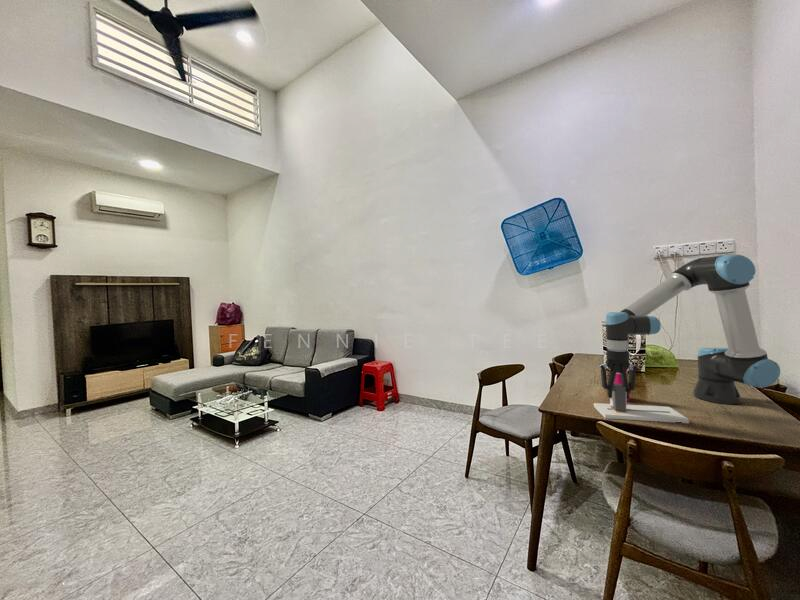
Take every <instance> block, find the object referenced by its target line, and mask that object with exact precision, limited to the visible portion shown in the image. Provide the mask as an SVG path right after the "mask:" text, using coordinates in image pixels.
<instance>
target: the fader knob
mask: <svg viewBox="0 0 800 600" xmlns="http://www.w3.org/2000/svg"><path fill="white" fill-rule="evenodd" d="M612 390H614V391H615V407H612V406H611V407H612V408H613V409H614V410H616V411H626V387H625V386H623V385H622V384H620V383H614V384H613V389H612Z"/></svg>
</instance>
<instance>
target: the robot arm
mask: <svg viewBox="0 0 800 600" xmlns="http://www.w3.org/2000/svg"><path fill="white" fill-rule="evenodd" d="M755 276H756V266H755V264H754V263H753V261H752V260H751V259H750V258H749V257H746V256H745V255H742V254H722V255H713V256H705V257H699V258H695V259H693V260H691V261H689V262H687V263H685V264H683V265H682V266H680V267H678V268H677V269H675V270H673V272H671V273H669V275H668V276H667V277H668V278H667V279H665V280H664V281H662V282H661V283H660V284H658V285H657V286H656V287H654V288H652V289H651V290H650V291H648V292H646V293H645V294H643V295H642V296H641V297H640V298H638V299H636V300H635V301H633V302H632V303H631V304H629V305H628V306H627V307H625V308H624V309H622V310H621V311H617V312H616V311H615V312H614V311H612V312H607V313H606V317H605V333H606V335H605V336H606V337H605V338H606V342H605V343H606V350H605V351H606V361H605V362H604V363H601V364H598V368H599V370H600V377H601V378H600V379H601V387H602V388H603V389H604V390H607V395H606V397H608V398H609V404H610V405H611V406H612V407H615V391H614V390H612V389H613V384H614V382H615V379H616V373H617V372H620V375H621V379H622V384H623V386H625V387H626V407H627V405H628V404H627V403H628V401H627V399H629V396H630V394H629V392H630V390H631V391H634V390H635V389H636V388H635V387H636V373H637V370H638V366H636V365H634V364H631V363H630V361H629V359H630V357H629V355H630V354H629V351H628V350H629V349H630V347H629V336H635V335H636V336H637V335H638V336H639V335H640V336H641V335H643V336H646V335H647V336H650V335H656V334H658V333H660V332H661V327H662V326H661V321H660V319H658V317H656V316H653V315H650V314H651V313H652V312H655V310H657V309H659V308H660V307H661V306H662V305H664V304H665V303H667V302H669V301H670V300H671V299H673V298H675V297H676V296H677V295H679V294H681V293H682V292H684V291H686V292H687V291H689V290H691V289H692V288H694V287H697V286H700V285H701V286H702V285H707V288H708V292H710V293H712V294H713V295H714V296H715V300H716V304H717V307H718V312H719V316H720V320H721V324H722V328H723V333H724V337H725V340H726V344H727V347H701V348H699V349H698V351H697V352H698V353H697V374H698V375H697V376H698V377H697V380H696V381H697V382H696V384H695V386H694V388H693V390H692V395H693V396H694V397H695V398H697V399H699V400H703V401H706V402H712V403H715V404H723V405H738V404H740V403H741V402H742V401H741V400H742V398H741V395H740V393H739V391H738V387H737V386H736V384H735V383H736V382H737V383H740V384H745V385H746V386H749V387H756V388H767V387H770V386H772V385H774V384H775V383H776V381H777V380H779V378H780V375H781V367H780V365H779V364H778V363H777V362H775V360H773V359H769V357H768V353H767V351H766V350H765V349H763V348H761V347H760V344H759V340H758V338H757V333H756V328H755V325H754V321H753V316H752V313H751V308H750V304H749V300H748V297H747V293H746V290H747V289H748V288H749V287H750V286H751V284H750V282H751V281H753V279H754V277H755ZM649 315H650V316H649ZM628 367H629V369H628V370H629V372H628V376H627V377H628V378H627V377H626V370H627V368H628ZM607 368H608V369H609V375H608V376H607ZM628 370H627V371H628ZM607 377H608V378H607ZM628 384H629V385H628Z"/></svg>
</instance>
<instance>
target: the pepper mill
mask: <svg viewBox="0 0 800 600" xmlns="http://www.w3.org/2000/svg"><path fill="white" fill-rule="evenodd" d="M628 370H630V369H629V367H628V368H627V370H626V377H628V375H629V372H628ZM614 383H620V384H622V379H621V375H620V372H617V373H616V375H615V379H614ZM622 385H623V384H622ZM628 385H629V383H628ZM631 394H632V390H630V392H629V399H627V402H630V401H631V396H630V395H631Z"/></svg>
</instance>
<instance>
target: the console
mask: <svg viewBox="0 0 800 600" xmlns="http://www.w3.org/2000/svg"><path fill="white" fill-rule="evenodd" d="M593 407H594V408H595V409H596V410H597V412H598V413H599V414H600V415H601V416H602V417H603V418H604V419H609V420H610V419H611V420H628V421H644V422H645V421H646V422H658V421H659V422H663V423H675V422H682V423H681V424H690V419H689V418H688V417H686V416H684V415H683V414H681V413H680V412H679V411H676V409H674V408H672V407H670V406H662V405H661V406H659V405H641V404H627V407H626V411H616V410H614V409H613V408H612V407H611V405H610V403H599V402H594V403H593ZM659 422H658V423H659Z"/></svg>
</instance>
